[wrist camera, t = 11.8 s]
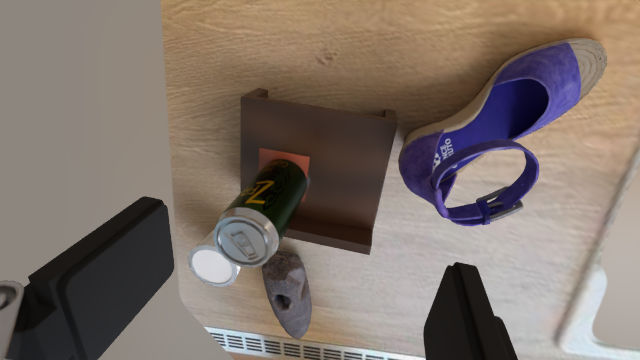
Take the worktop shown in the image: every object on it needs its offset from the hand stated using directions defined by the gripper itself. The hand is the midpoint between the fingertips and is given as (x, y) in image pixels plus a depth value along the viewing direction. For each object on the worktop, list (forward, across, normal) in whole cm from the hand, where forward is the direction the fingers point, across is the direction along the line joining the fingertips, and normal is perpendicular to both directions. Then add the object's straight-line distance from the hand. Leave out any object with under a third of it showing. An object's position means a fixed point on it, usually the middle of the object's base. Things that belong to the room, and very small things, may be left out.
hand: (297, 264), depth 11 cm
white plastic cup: (+28, +15, +23) cm, 40 cm away
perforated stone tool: (+28, +5, +29) cm, 41 cm away
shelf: (+28, +4, +8) cm, 30 cm away
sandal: (+28, -13, -1) cm, 31 cm away
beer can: (+23, +7, +9) cm, 26 cm away
